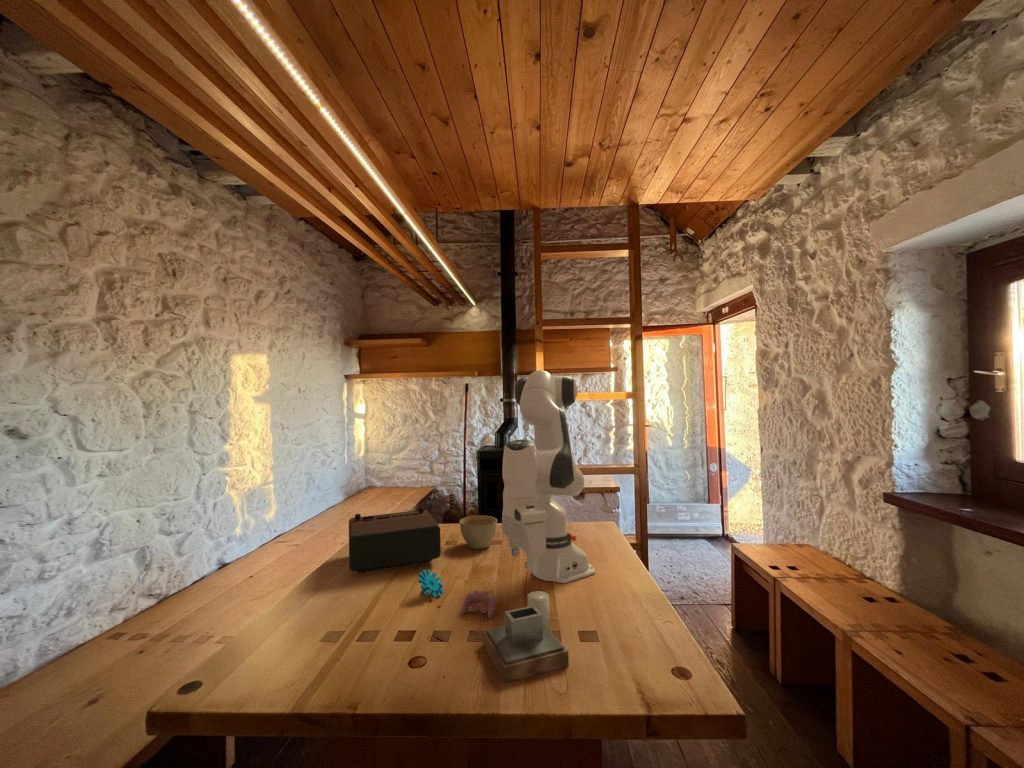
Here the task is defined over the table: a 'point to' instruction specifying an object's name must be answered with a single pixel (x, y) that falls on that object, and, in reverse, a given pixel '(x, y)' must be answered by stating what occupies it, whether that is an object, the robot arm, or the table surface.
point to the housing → (523, 626)
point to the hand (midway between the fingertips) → (522, 562)
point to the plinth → (524, 654)
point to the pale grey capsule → (540, 604)
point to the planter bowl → (478, 530)
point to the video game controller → (477, 597)
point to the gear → (430, 583)
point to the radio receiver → (392, 540)
